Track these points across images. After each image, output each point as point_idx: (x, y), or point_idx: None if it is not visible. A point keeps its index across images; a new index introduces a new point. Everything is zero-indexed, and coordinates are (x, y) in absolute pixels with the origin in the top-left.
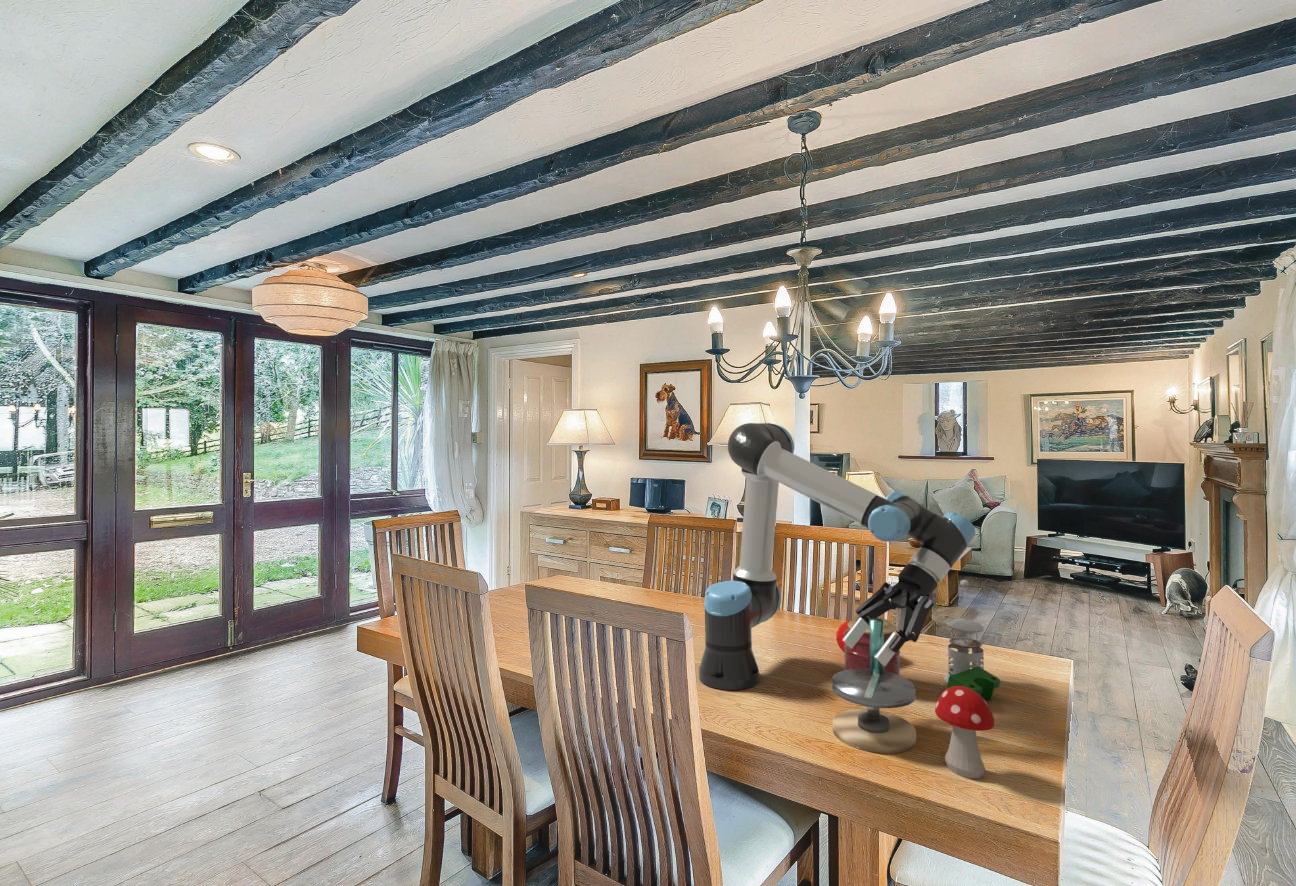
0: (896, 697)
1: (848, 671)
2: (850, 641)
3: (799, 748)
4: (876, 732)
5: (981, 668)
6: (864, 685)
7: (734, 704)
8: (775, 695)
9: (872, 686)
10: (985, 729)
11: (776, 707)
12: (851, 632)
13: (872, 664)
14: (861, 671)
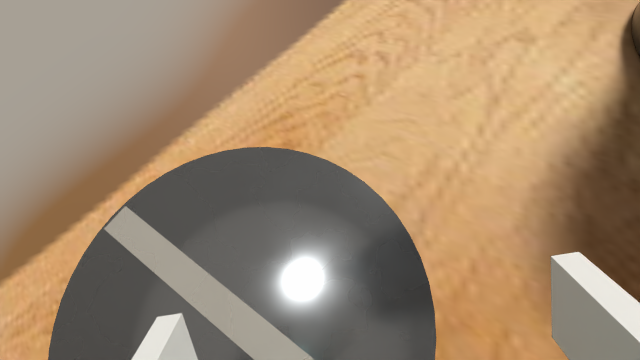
0: (67, 341)
1: (399, 268)
2: (570, 316)
3: (261, 116)
4: None
5: None
6: (223, 264)
7: (524, 30)
8: (599, 142)
9: (198, 293)
10: None
11: (501, 123)
12: (607, 315)
13: None
14: (391, 339)
